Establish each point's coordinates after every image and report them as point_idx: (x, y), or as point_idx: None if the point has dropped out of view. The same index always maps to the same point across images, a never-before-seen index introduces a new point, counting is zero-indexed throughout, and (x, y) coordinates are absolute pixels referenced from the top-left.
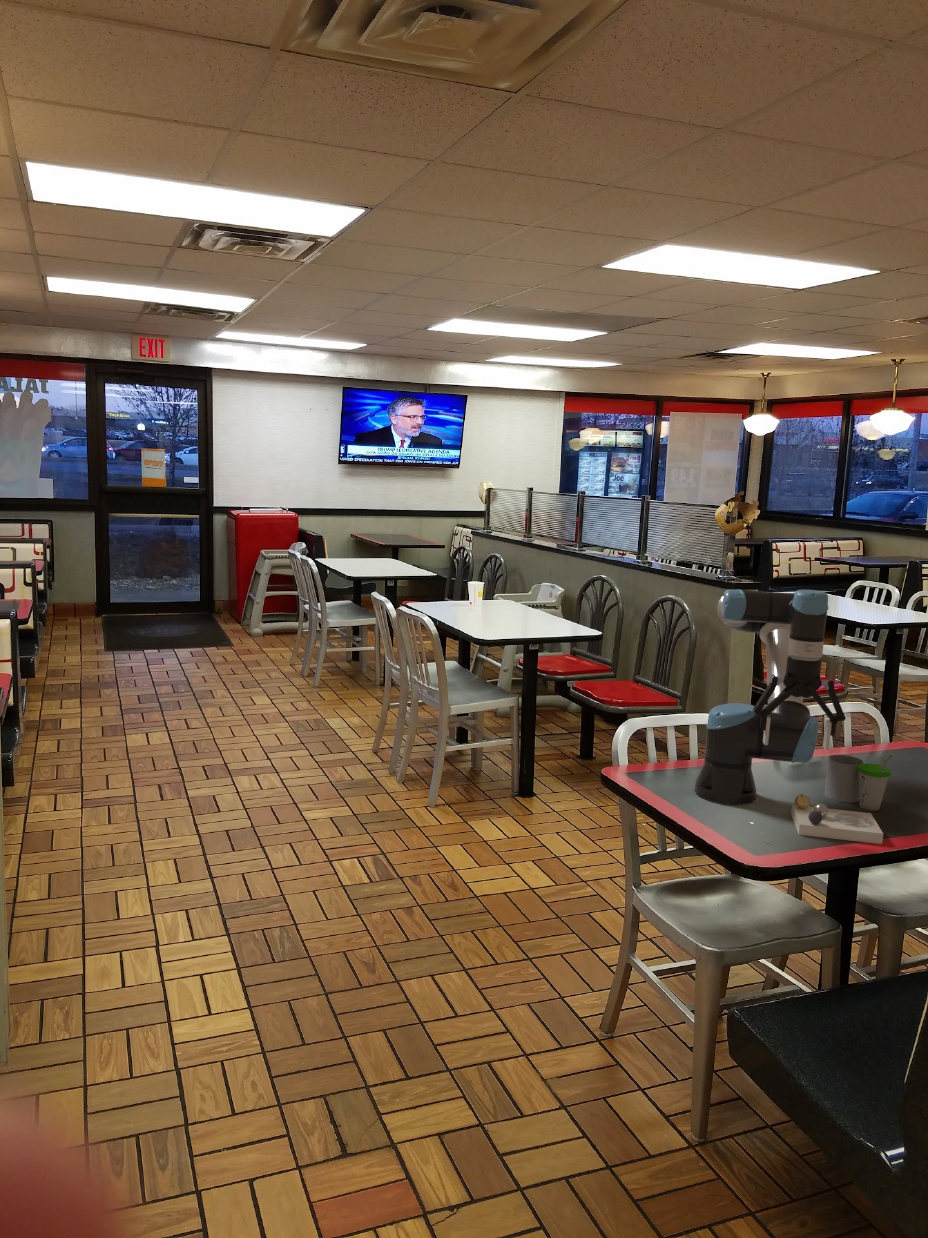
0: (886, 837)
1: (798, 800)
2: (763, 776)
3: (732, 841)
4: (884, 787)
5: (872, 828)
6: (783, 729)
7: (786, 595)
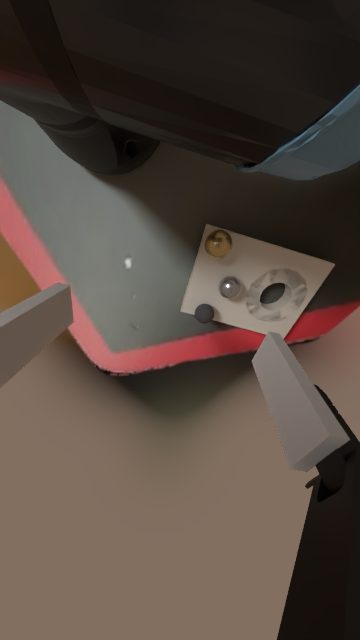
0: (303, 311)
1: (207, 252)
2: None
3: (93, 322)
4: None
5: (282, 323)
6: (192, 74)
7: None
